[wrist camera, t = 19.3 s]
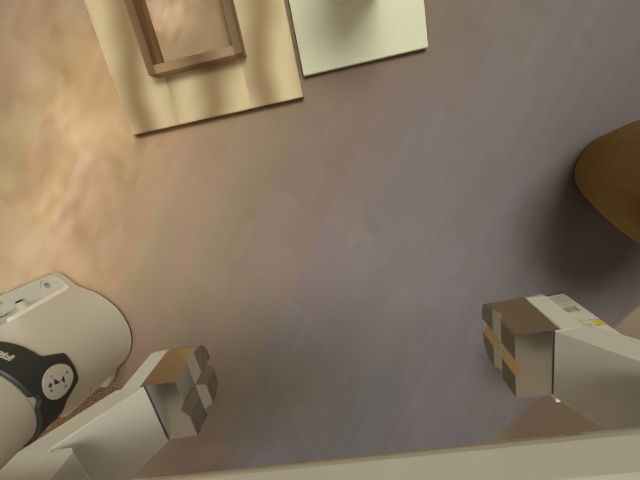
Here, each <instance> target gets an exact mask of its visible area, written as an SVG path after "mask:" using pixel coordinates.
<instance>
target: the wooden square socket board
mask: <svg viewBox="0 0 640 480" xmlns="http://www.w3.org/2000/svg"><path fill="white" fill-rule="evenodd" d="M84 1H85V4H86V6H87V9H88V12H89V15H90V18H91V20H92V23H93V26H94V29H95V32H96V34H97V37H98V40H99V43H100V45H101V48H102V51H103V54H104V57H105V59H106V62H107V65H108V68H109V70H110V73H111V76H112V79H113V82H114V84H115V87H116V90H117V93H118V96H119V98H120V101H121V104H122V107H123V109H124V112H125V115H126V118H127V121H128V123H129V126H130V129H131V132H132V135H138V134H143V133H147V132H152V131H156V130H161V129H165V128H170V127H174V126H178V125H183V124H187V123H192V122H196V121H201V120H205V119H210V118H214V117H219V116H223V115H227V114H232V113H236V112H241V111H245V110H250V109H254V108H259V107H263V106H267V105H272V104H276V103H281V102H285V101H290V100H294V99H299V98H303V97H304V96H303V91H302V85H301V80H300V75H299V70H298V65H297V60H296V55H295V50H294V45H293V40H292V35H291V30H290V25H289V20H288V15H287V10H286V5H285V0H221V2H222V6H223V10H224V14H225V18H226V22H227V26H228V30H229V34H230V38H231V42H232V46H229V47H225V48H221V49H217V50H212V51H208V52H204V53H200V54H196V55H192V56H188V57H184V58H180V59H176V60H172V61H168V62H164V60H163V57H162V54H161V50H160V47H159V44H158V41H157V38H156V34H155V31H154V28H153V25H152V21H151V18H150V15H149V12H148V9H147V5H146V2H145V0H84Z"/></svg>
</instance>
